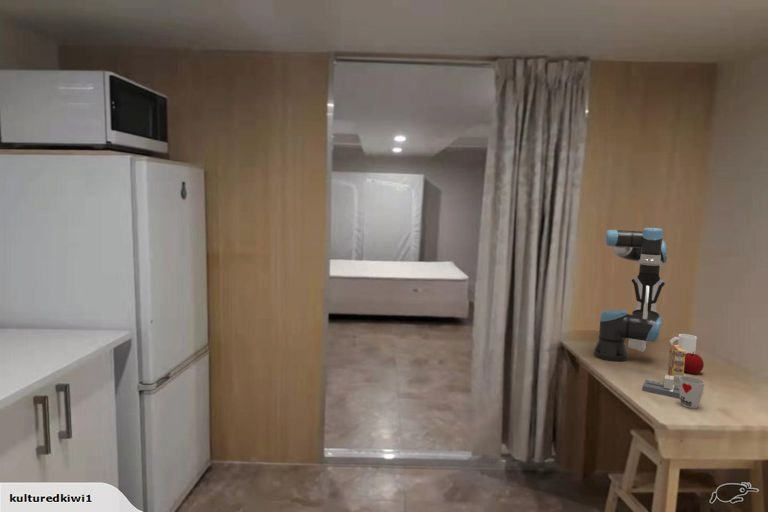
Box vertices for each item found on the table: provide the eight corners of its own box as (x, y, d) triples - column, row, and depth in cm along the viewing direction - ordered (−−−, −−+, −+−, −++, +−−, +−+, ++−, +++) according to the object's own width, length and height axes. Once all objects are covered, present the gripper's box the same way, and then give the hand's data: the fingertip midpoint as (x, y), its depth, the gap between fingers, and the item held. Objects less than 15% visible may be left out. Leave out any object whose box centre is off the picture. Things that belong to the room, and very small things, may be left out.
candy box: (683, 386, 204) (686, 351, 202) (671, 385, 205) (675, 349, 204) (677, 379, 212) (680, 345, 211) (666, 378, 214) (669, 344, 212)
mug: (691, 353, 252) (693, 334, 251) (698, 358, 244) (700, 339, 242) (666, 350, 255) (667, 332, 253) (671, 355, 246) (673, 336, 245)
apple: (704, 372, 223) (706, 351, 221) (700, 377, 216) (702, 355, 215) (681, 367, 229) (683, 346, 228) (676, 371, 222) (678, 350, 221)
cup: (671, 401, 188) (674, 376, 187) (691, 401, 189) (694, 376, 188) (686, 410, 180) (689, 384, 179) (707, 409, 181) (709, 383, 180)
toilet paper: (643, 352, 251) (644, 339, 251) (624, 346, 262) (625, 333, 261) (654, 350, 255) (655, 337, 254) (635, 344, 265) (636, 332, 264)
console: (642, 390, 198) (643, 380, 198) (645, 384, 206) (646, 373, 205) (694, 401, 188) (695, 390, 188) (695, 394, 196) (696, 383, 195)
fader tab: (663, 387, 196) (664, 377, 195) (664, 384, 200) (665, 374, 199) (672, 389, 194) (673, 379, 194) (673, 385, 198) (674, 376, 198)
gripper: (631, 263, 209) (626, 317, 211) (666, 266, 201) (661, 322, 204) (634, 262, 215) (629, 314, 217) (668, 264, 207) (663, 319, 210)
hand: (644, 318), depth 211 cm, fingers closed
